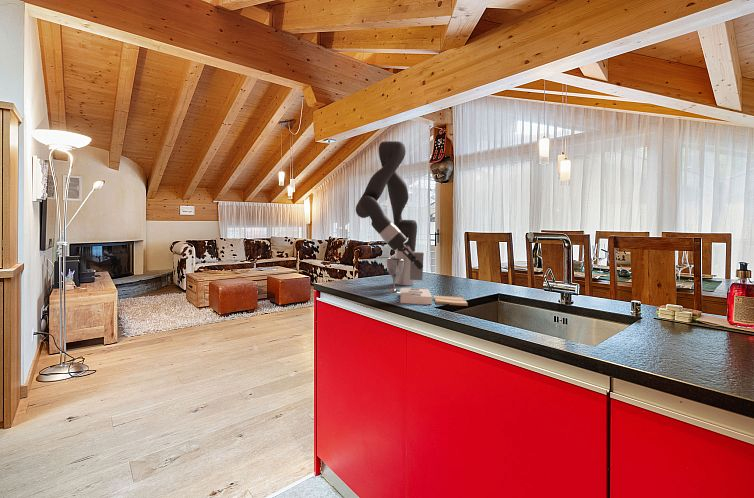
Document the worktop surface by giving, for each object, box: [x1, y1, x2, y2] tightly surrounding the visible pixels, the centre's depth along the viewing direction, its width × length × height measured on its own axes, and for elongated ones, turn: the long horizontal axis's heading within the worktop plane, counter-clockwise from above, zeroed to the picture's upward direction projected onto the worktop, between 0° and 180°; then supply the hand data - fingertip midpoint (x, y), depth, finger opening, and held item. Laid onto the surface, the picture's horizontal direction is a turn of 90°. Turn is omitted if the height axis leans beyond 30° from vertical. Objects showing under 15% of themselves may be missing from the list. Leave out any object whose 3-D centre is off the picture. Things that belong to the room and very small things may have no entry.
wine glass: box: [386, 257, 404, 294], centre depth 169 cm, size 8×8×15 cm
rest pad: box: [433, 295, 469, 307], centre depth 151 cm, size 13×12×1 cm
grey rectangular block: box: [410, 251, 424, 281], centre depth 152 cm, size 4×5×11 cm
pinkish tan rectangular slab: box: [400, 287, 433, 306], centre depth 153 cm, size 18×12×3 cm, turn 176°
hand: (421, 267), depth 152 cm, fingers closed on grey rectangular block, 4 cm apart
